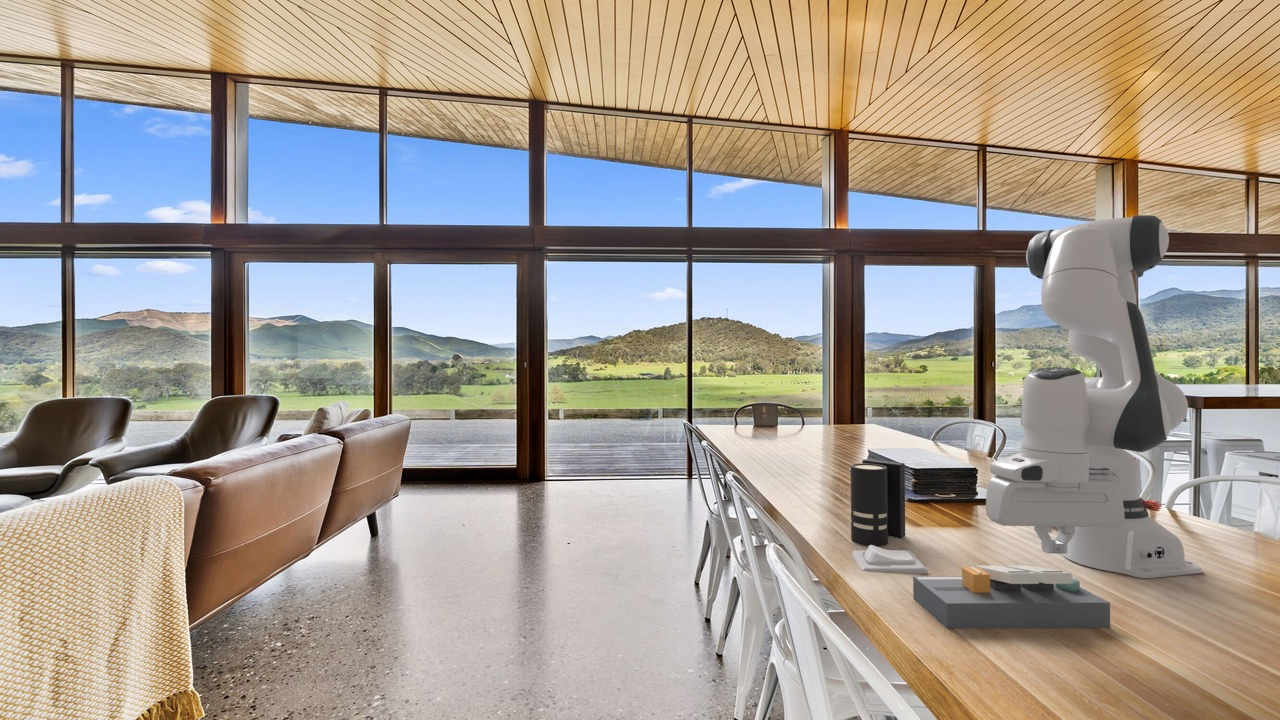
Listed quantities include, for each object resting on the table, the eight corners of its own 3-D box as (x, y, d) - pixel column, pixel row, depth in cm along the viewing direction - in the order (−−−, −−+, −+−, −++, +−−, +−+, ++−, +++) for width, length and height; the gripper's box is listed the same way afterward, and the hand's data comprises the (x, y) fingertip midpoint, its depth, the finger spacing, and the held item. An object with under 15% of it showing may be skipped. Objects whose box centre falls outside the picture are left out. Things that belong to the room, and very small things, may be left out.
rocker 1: (1000, 575, 98) (998, 564, 98) (1038, 583, 88) (1036, 572, 89) (975, 575, 98) (973, 564, 98) (1011, 583, 88) (1009, 572, 89)
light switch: (849, 539, 123) (910, 539, 121) (851, 558, 123) (912, 557, 121) (860, 557, 112) (927, 556, 110) (861, 577, 112) (929, 577, 110)
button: (1069, 584, 95) (1069, 576, 95) (1084, 592, 91) (1084, 583, 91) (1051, 584, 95) (1051, 576, 95) (1065, 592, 92) (1065, 583, 92)
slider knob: (978, 584, 95) (978, 565, 95) (990, 592, 92) (989, 573, 92) (962, 584, 95) (961, 566, 95) (973, 592, 92) (973, 573, 92)
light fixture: (841, 540, 131) (841, 465, 131) (866, 527, 141) (866, 458, 141) (883, 550, 124) (882, 471, 124) (906, 536, 133) (905, 463, 134)
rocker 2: (1031, 575, 98) (1029, 564, 98) (1073, 583, 88) (1071, 572, 89) (1006, 575, 98) (1004, 564, 98) (1045, 583, 88) (1043, 572, 89)
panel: (1058, 597, 99) (1058, 570, 99) (1110, 627, 88) (1109, 596, 88) (913, 598, 99) (913, 570, 99) (947, 628, 88) (946, 597, 88)
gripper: (1102, 464, 92) (1102, 546, 92) (980, 463, 92) (980, 545, 92) (1136, 471, 86) (1136, 560, 86) (1004, 470, 86) (1004, 558, 86)
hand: (1054, 552), depth 89 cm, fingers closed
